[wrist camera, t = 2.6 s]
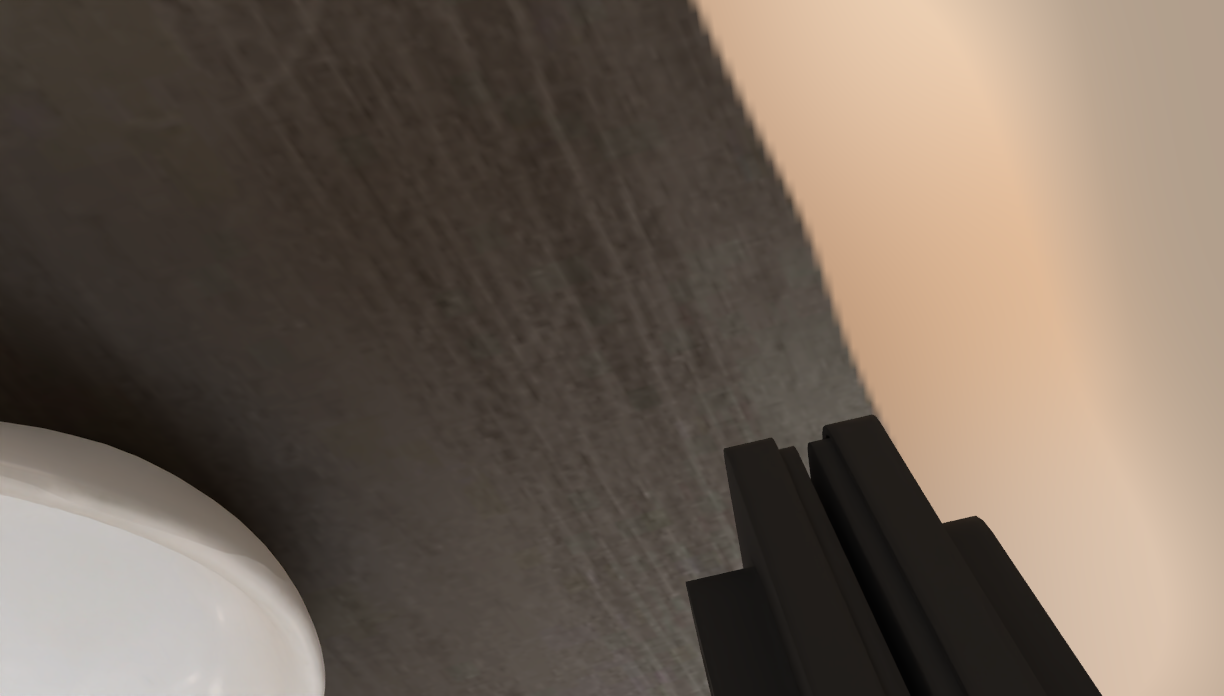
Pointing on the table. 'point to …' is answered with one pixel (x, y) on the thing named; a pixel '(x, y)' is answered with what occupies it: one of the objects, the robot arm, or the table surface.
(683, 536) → the table surface
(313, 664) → the spoon rest
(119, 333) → the table surface
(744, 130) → the table surface
